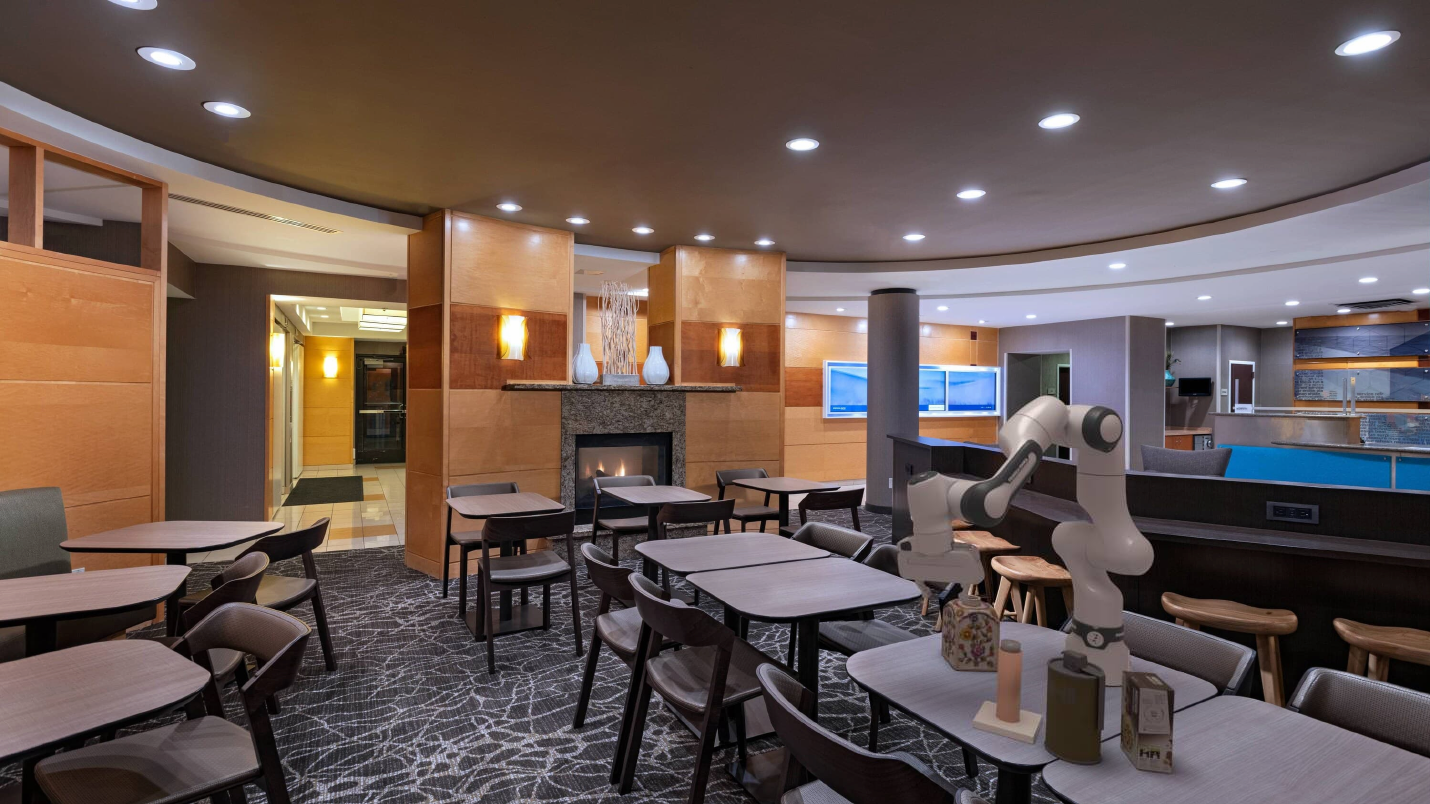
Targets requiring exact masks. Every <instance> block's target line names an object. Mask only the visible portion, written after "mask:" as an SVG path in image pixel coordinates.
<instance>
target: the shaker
mask: <svg viewBox="0 0 1430 804" xmlns="http://www.w3.org/2000/svg"><path fill="white" fill-rule="evenodd" d="M1021 646H1022V645H1021V642H1020V641H1017V640H1013V639H1009V638H1008V639H1007V638H1006V639H1004V638H1003V639H1000V647H999V652H998V671H997V681H996V682H997V685H996V702H995V703H996V717H997V718H998V719H1000V720H1002V721H1005V722H1009V723H1017V722H1019V721H1020V709H1021V702H1022V701H1021V699H1022V697H1021V695H1022V676H1023V675H1022V673H1023V650H1022V649H1021V648H1022V647H1021Z"/></svg>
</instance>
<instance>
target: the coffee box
mask: <svg viewBox="0 0 1430 804" xmlns="http://www.w3.org/2000/svg"><path fill="white" fill-rule="evenodd" d="M1175 692H1176V691H1175V690H1174V689H1173V688H1172V687H1171V686H1170V685H1169V684H1167V683H1166V682H1165V681H1164V680H1163V679H1162V678H1160V676H1159V675H1157V674H1156V673H1153V672H1146V671H1145V672H1144V671H1134V672H1129V671H1122V685H1121V701H1120V702H1121V703H1120V704H1121V705H1120V707H1121V708H1120V714H1121V715H1120V744H1119V745H1120V749H1121V750H1122V752H1124V754H1125V755H1126V756H1127V758H1128V759H1129V760H1130V762H1131V763H1132V765H1134V767H1135V768H1136V769H1137V770H1143V771H1149V772H1150V771H1151V772H1158V773H1164V774H1165V773H1166V774H1172V769H1173V768H1172V766H1173V765H1172V764H1173V742H1174V741H1173V740H1174V738H1173V737H1174V736H1173V735H1174V720H1175V719H1174V718H1175V717H1174V716H1175V715H1174V714H1175V694H1176V693H1175Z"/></svg>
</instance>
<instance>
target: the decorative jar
mask: <svg viewBox="0 0 1430 804" xmlns="http://www.w3.org/2000/svg"><path fill="white" fill-rule="evenodd" d="M968 598H969V599H968V601H967V602H963V601H959V598H955V599H952V600H950V601H948V602H947V603H946V604H945V605H944V606H943V609H942V624H941V625H942V626H941V629H942V630H941V655H942V656H943V657H944V658H945V660H946V661H947V662H948V663H949V665H950V666H951V667H952V668H953V669H954V670H955V671H965V672H966V671H967V672H968V671H970V672H996V673H998V652H999V647H1000V646H1001V636H1000V635H1001V621H1000V619H999V615H998V614H997V611H996V609H995V608H994V607H993V605H991V604H990V603H988V602H985V601H983V600H982V599H981V596H978V595H975V594H974V595H973V594H968Z"/></svg>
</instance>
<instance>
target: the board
mask: <svg viewBox="0 0 1430 804" xmlns="http://www.w3.org/2000/svg"><path fill="white" fill-rule="evenodd" d="M996 703H997V702H993V701H990V700H984V702H983V704H982V705H981V707H980V709H979V710H978V712H977V713H976V714H975V717H974V718H973V720H972V728H974V729H977V730H981V731H985V732H988V733H992V734H995V735H999V736H1003V737H1006V738H1009V739H1014V740H1017V741H1020V742H1023V743H1027V744H1031V745H1034V742H1035V740H1036V738H1037V736H1038V733H1039V731H1040V727H1041V726H1042V723H1043V714H1039V713H1035V712H1033V711H1029V710H1023V709H1021V708H1020V721H1019V722H1017V723H1009V722H1005V721H1002V720H1000V719H998V718H997V717H996Z"/></svg>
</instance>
